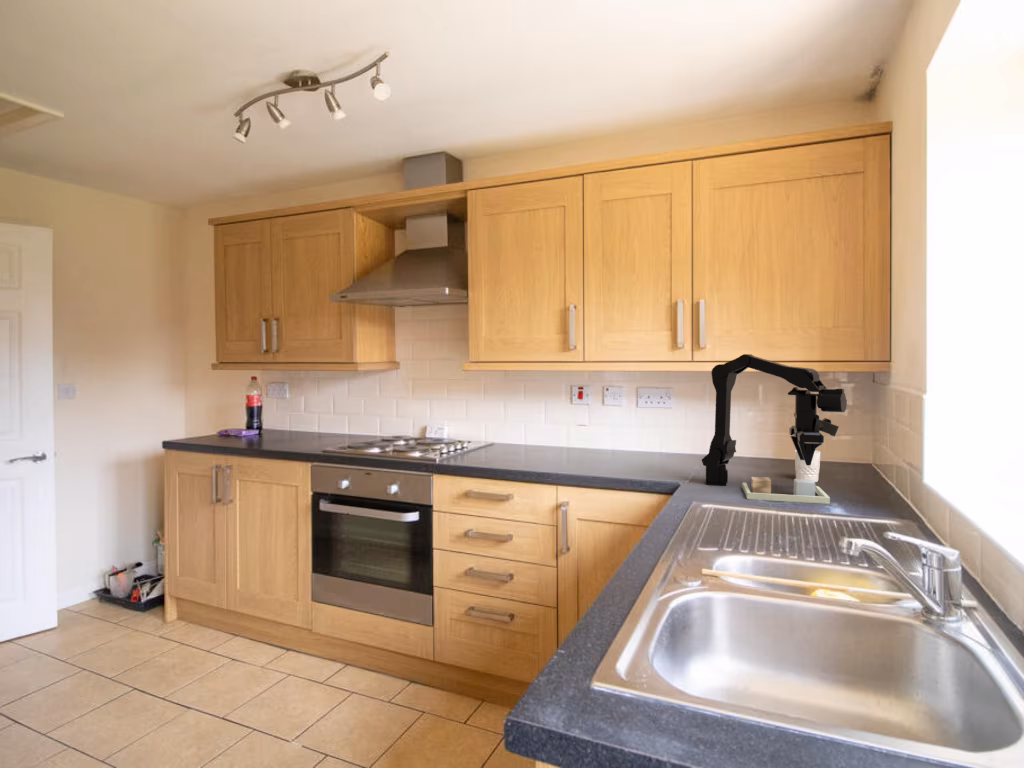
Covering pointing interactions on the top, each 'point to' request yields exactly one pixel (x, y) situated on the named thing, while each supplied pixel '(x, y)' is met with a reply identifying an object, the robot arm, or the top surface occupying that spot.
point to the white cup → (807, 467)
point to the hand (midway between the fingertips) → (805, 462)
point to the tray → (789, 496)
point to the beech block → (760, 485)
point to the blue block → (804, 487)
